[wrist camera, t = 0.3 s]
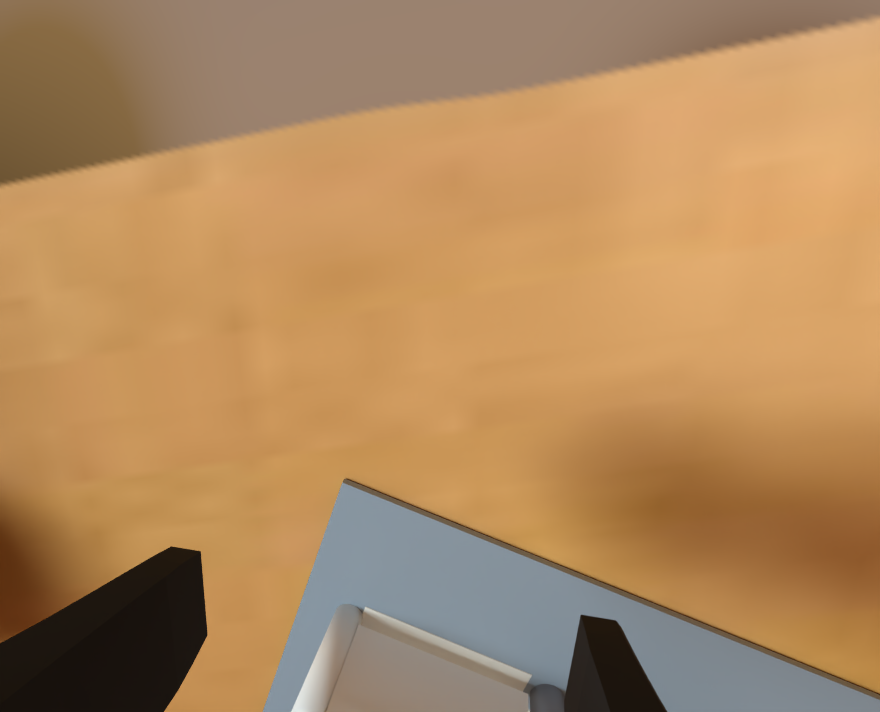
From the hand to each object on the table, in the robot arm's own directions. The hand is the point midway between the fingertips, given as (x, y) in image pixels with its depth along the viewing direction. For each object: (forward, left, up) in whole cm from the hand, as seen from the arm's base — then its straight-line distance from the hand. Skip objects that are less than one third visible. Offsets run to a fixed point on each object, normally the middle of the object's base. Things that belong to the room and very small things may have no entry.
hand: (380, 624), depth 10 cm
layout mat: (-12, -9, -10) cm, 18 cm away
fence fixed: (-10, -4, -10) cm, 15 cm away
